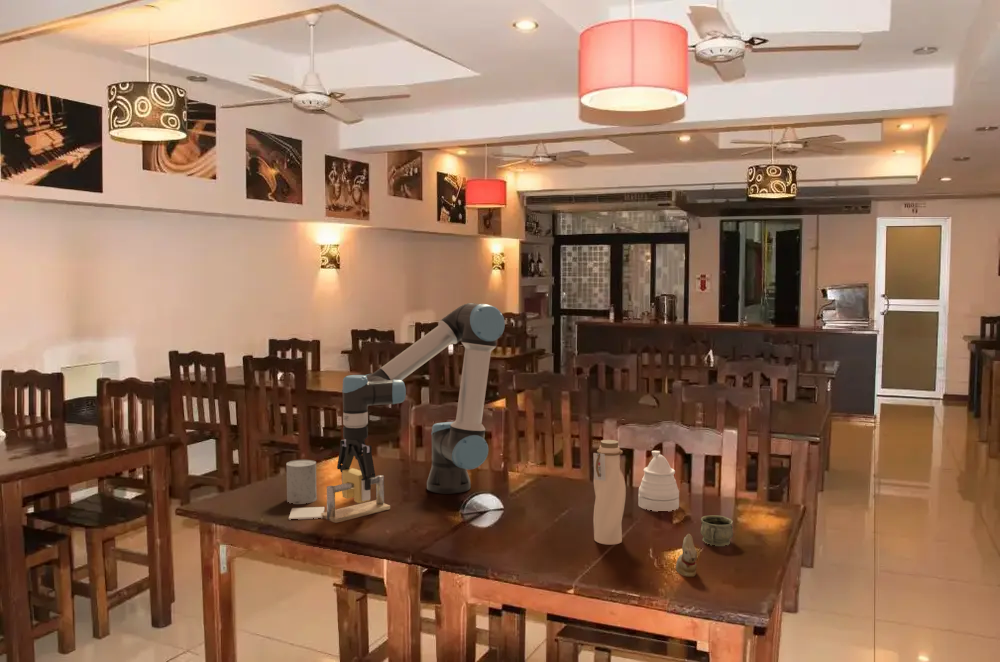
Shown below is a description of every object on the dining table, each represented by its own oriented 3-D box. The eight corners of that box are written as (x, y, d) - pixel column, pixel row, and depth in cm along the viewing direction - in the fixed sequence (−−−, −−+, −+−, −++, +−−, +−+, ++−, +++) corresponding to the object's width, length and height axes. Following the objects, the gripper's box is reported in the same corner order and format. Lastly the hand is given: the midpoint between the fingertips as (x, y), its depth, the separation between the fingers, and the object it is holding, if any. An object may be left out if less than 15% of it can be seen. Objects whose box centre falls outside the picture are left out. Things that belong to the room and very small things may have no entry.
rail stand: (376, 503, 255) (375, 473, 255) (390, 509, 250) (390, 477, 249) (320, 517, 241) (320, 484, 241) (334, 523, 236) (334, 490, 235)
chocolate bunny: (672, 576, 196) (673, 536, 195) (677, 565, 203) (678, 527, 202) (695, 579, 194) (696, 539, 193) (699, 568, 201) (700, 529, 200)
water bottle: (614, 549, 214) (616, 447, 212) (584, 543, 219) (586, 443, 217) (629, 538, 223) (631, 440, 221) (600, 532, 228) (601, 437, 226)
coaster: (324, 508, 250) (324, 506, 250) (322, 518, 240) (322, 516, 240) (292, 510, 248) (292, 508, 248) (288, 519, 238) (288, 517, 238)
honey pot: (662, 514, 245) (663, 457, 244) (630, 505, 255) (630, 450, 254) (687, 506, 254) (688, 451, 253) (654, 497, 264) (655, 444, 262)
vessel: (705, 533, 228) (706, 511, 228) (737, 538, 224) (737, 516, 223) (695, 545, 217) (695, 523, 217) (727, 551, 213) (728, 528, 213)
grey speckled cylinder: (299, 505, 253) (298, 468, 252) (280, 500, 259) (280, 463, 258) (322, 499, 260) (322, 462, 259) (304, 494, 266) (303, 458, 265)
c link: (342, 497, 247) (342, 470, 246) (353, 494, 250) (353, 468, 249) (358, 503, 241) (358, 475, 240) (369, 500, 243) (369, 473, 243)
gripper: (325, 422, 249) (326, 491, 251) (366, 432, 233) (366, 506, 234) (345, 418, 254) (346, 486, 256) (387, 429, 238) (387, 501, 240)
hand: (356, 496), depth 245 cm, fingers open, 10 cm apart
